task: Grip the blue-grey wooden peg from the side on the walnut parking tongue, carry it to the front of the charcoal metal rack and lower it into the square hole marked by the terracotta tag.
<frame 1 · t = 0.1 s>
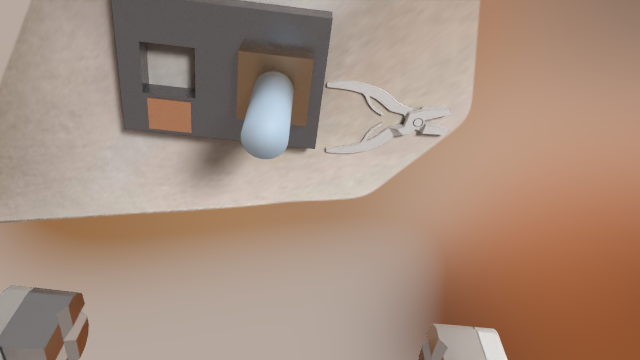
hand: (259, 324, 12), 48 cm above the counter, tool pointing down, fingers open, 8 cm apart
peg: (273, 90, 55), point 4 cm above the counter, touching rack
rack: (225, 68, 58), on the counter
pliers: (386, 116, 63), on the counter
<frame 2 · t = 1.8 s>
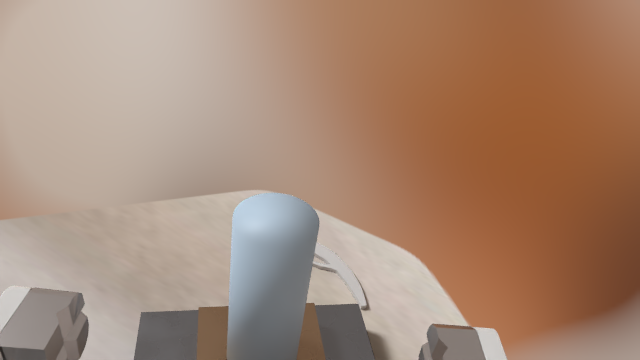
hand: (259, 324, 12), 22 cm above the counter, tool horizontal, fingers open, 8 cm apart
peg: (261, 354, 32), point 4 cm above the counter, touching rack
pliers: (290, 257, 47), on the counter
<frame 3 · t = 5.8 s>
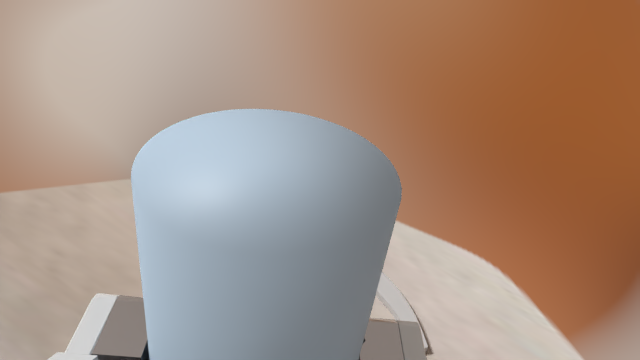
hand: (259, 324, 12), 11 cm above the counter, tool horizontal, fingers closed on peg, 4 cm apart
pliers: (297, 265, 30), on the counter
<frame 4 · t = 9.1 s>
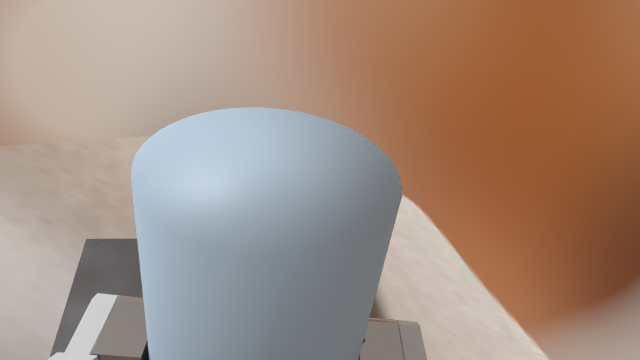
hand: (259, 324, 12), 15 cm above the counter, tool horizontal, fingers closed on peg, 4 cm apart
when the fingers open (8 cm above the counter, at t = 12.0 s): peg drops 1 cm, resting in rack.
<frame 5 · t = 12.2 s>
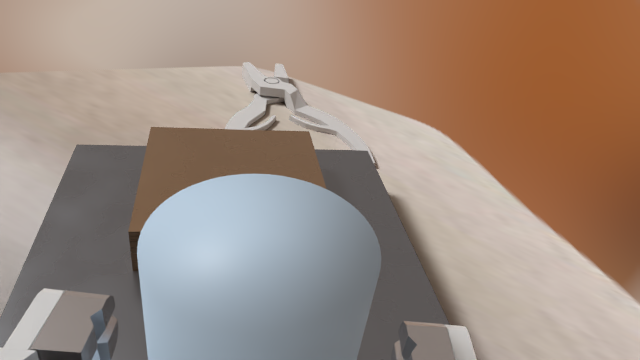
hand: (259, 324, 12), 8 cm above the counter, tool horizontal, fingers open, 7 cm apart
rack: (236, 348, 20), on the counter
pliers: (279, 122, 38), on the counter
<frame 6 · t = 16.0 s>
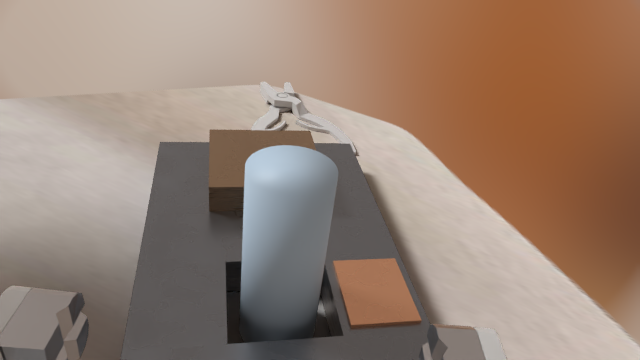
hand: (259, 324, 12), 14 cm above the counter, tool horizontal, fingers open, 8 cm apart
peg: (277, 326, 29), resting in rack
rack: (269, 257, 34), on the counter
pliers: (289, 125, 52), on the counter
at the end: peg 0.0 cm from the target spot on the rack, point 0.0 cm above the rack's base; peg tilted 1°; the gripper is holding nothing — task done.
